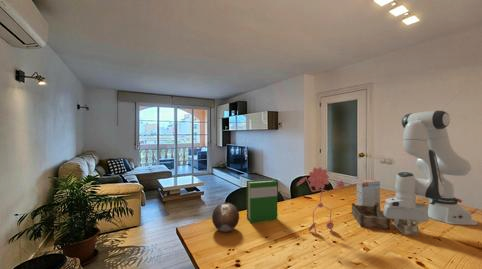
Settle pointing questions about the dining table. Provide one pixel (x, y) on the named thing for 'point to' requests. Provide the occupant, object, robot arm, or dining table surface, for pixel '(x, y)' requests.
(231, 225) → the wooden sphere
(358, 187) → the cracker box
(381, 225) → the walnut crate
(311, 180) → the figurine
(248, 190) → the hardback book
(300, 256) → the dining table surface
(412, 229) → the birch crate
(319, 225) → the dining table surface
